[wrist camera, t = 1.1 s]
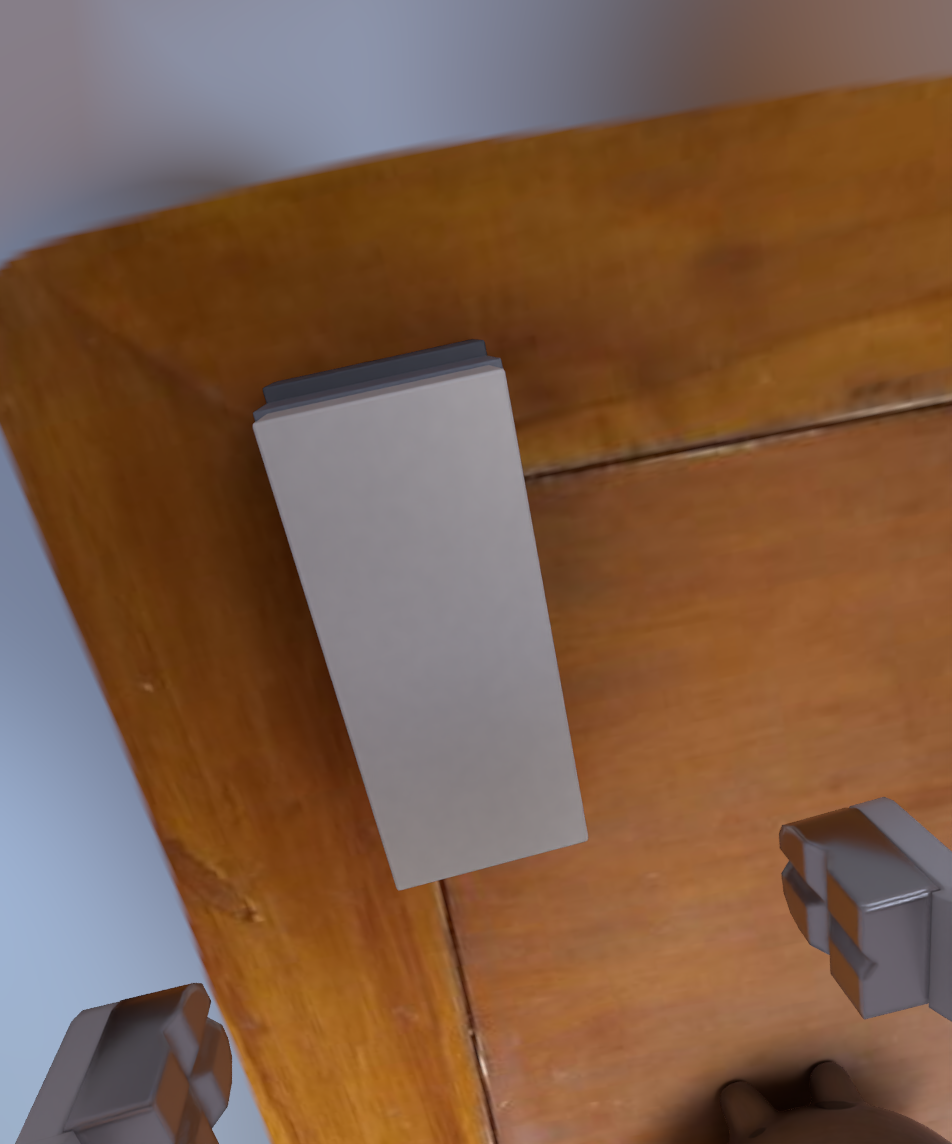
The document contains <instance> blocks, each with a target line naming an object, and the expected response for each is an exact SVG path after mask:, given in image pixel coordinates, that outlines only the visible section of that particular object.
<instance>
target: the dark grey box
mask: <svg viewBox="0 0 952 1144" xmlns="http://www.w3.org/2000/svg"><path fill="white" fill-rule="evenodd" d="M487 365H491V366H495V367H498V368H502V369H503V367H502V361H501V359H500V358H496V357H491V356H487V352H486V347H485V342H484V340H474V339H471V340H466V341H462V342H457V343H453V344H448V345H443V346H439V347H434V348H430V349H425V350H420V351H416V352H411V353H407V354H402V355H397V356H393V357H388V358H383V359H379V360H374V361H370V362H365V363H360V364H356V365H351V366H347V367H342V368H337V369H333V370H328V371H324V372H319V373H314V374H310V375H305V376H300V377H296V378H291V379H287V380H282V381H277V382H274V383H272V384H270V385H268V386H266V387H264V388H263V393H264V396H265V399H266V403H267V404H266V405H264V406H262V407H261V408H259V409H258V410H256V411H255V412H253V416H254V419H255V422H256V421H258V420H259V419H261V418H262V417H263V416H265V415H266V414H268V413H272V412H277V411H282V410H286V409H291V408H295V407H300V406H304V405H309V404H313V403H318V402H323V401H327V400H332V399H336V398H341V397H345V396H350V395H354V394H359V393H364V392H368V391H373V390H377V389H382V388H386V387H391V386H395V385H400V384H405V383H409V382H414V381H418V380H423V379H427V378H432V377H436V376H441V375H446V374H450V373H455V372H459V371H464V370H468V369H473V368H477V367H482V366H487Z"/></svg>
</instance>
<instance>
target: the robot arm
mask: <svg viewBox="0 0 952 1144" xmlns="http://www.w3.org/2000/svg"><path fill="white" fill-rule="evenodd" d="M779 842H780V849H781V850H782V852H783V853H784V854H785V856H786V857H787V858H788V859H789V862H788V864H787V865H786V867H785V868H784V870H783V872H782V873H781V874H782V883H783V892H784V895H785V898H786V901H787V904H788V907H789V910H790V913H791V915H792V917H793V919H794V921H795V922H796V924H797V926H798V928H799V930H800V931H801V933H802V934H803V935H804V937H805V938H806V940H807V941H808V943H809V944H810V945H811V946H813V947H815V948H817V949H819V950H821V951H823V952H825V953H827V954H829V955H830V972H831V975H832V976H833V978H834V979H835V980H836V982H837V983H838V985H839V986H840V987H841V989H842V990H843V991H844V993H845V994H846V996H847V997H848V998H849V1000H850V1001H851V1002H852V1004H853V1005H854V1007H855V1008H856V1009H857V1011H858V1012H859V1013H860V1015H861V1016H862V1018H863V1019H868V1018H872V1017H876V1016H880V1015H884V1014H888V1013H892V1012H896V1011H900V1010H904V1009H908V1008H912V1007H916V1006H920V1005H924V1004H928V1003H929V1008H931V1009H933V1010H934V1011H936V1012H937V1013H939V1014H940V1015H942V1016H944V1017H945V1018H947V1019H948V1020H950V1021H952V852H951V851H950V850H949V849H948V848H947V847H946V846H945V845H944V844H942V843H941V842H940V841H939V840H938V839H937V838H936V837H934V836H933V835H932V834H931V833H930V832H929V831H928V830H926V829H925V828H924V827H923V826H922V825H921V824H920V823H918V822H917V821H916V820H915V819H914V818H913V817H912V816H910V815H909V814H908V813H907V812H906V811H905V810H904V809H902V808H901V807H900V806H899V805H898V804H897V803H896V802H894V801H893V800H891V799H888V798H886V797H882V798H878V799H874V800H871V801H867V802H864V803H860V804H856V805H853V806H850V807H849V808H842V809H839V810H835V811H832V812H828V813H824V814H821V815H817V816H814V817H810V818H806V819H803V820H799V821H796V822H792V823H788V824H785V825H782V827H781V830H780V832H779ZM210 1004H211V1000H210V998H209V996H208V994H207V992H206V990H205V988H204V986H203V984H201V983H191V984H188V985H183V986H179V987H175V988H171V989H167V990H162V991H158V992H154V993H150V994H146V995H141V996H137V997H133V998H129V999H125V1000H121V1001H120V1002H116V1003H112V1004H107V1005H104V1006H99V1007H95V1008H90V1009H86V1010H83V1011H81V1013H80V1014H79V1015H78V1016H77V1017H76V1018H75V1019H74V1020H73V1021H72V1022H71V1024H70V1026H69V1028H68V1030H67V1032H66V1035H65V1037H64V1039H63V1041H62V1043H61V1045H60V1048H59V1050H58V1052H57V1054H56V1056H55V1058H54V1061H53V1063H52V1065H51V1067H50V1069H49V1072H48V1074H47V1076H46V1078H45V1080H44V1082H43V1085H42V1087H41V1089H40V1091H39V1093H38V1095H37V1097H36V1100H35V1102H34V1104H33V1106H32V1108H31V1110H30V1113H29V1115H28V1117H27V1119H26V1121H25V1123H24V1126H23V1128H22V1130H21V1133H20V1134H19V1137H18V1139H17V1141H16V1143H15V1144H219V1143H218V1141H217V1139H216V1137H215V1135H214V1133H213V1131H212V1128H213V1126H214V1125H215V1124H216V1122H217V1121H218V1119H219V1118H220V1117H221V1115H222V1114H223V1112H224V1111H225V1109H226V1108H227V1106H228V1101H229V1096H230V1090H231V1084H232V1055H231V1050H230V1045H229V1040H228V1037H227V1035H226V1033H225V1030H224V1028H223V1026H222V1025H221V1024H219V1023H217V1022H216V1021H214V1020H212V1019H210V1018H208V1017H207V1015H208V1012H209V1008H210Z"/></svg>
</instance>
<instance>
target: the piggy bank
mask: <svg viewBox="0 0 952 1144" xmlns="http://www.w3.org/2000/svg"><path fill="white" fill-rule="evenodd" d="M809 1084H810V1095H811V1103H810V1105H807V1106H802V1107H797V1108H792V1109H788V1110H785V1111H777V1110H775V1109H774V1108H773V1107H772V1106H771V1104H770V1103H769V1102H768V1101H767V1100H766V1099H765V1098H764V1097H763V1096H762V1095H761V1094H760V1093H759V1092H758V1091H757V1090H756V1089H755V1088H754V1087H753V1086H752V1085H750V1084H748V1083H746V1082H743V1081H739V1082H735V1083H733V1084H730V1085H729V1086H727V1087H726V1088H725V1089H724V1090H723V1091H722V1093H721V1095H720V1106H721V1109H722V1112H723V1115H724V1117H725V1120H726V1122H727V1125H728V1129H729V1132H730V1134H729V1141H728V1144H952V1143H951V1142H949V1141H948V1140H946V1139H945V1138H944V1137H942V1136H941V1135H939V1134H938V1133H936V1132H935V1131H933V1130H931V1129H930V1128H928V1127H926V1126H924V1125H923V1124H921V1123H919V1122H917V1121H915V1120H913V1119H911V1118H909V1117H907V1116H904V1115H902V1114H899V1113H897V1112H894V1111H891V1110H888V1109H884V1108H880V1107H876V1106H873V1105H869V1104H867V1103H866V1102H865V1101H864V1100H863V1099H862V1097H861V1096H860V1094H859V1092H858V1091H857V1089H856V1087H855V1086H854V1084H853V1082H852V1080H851V1079H850V1077H849V1075H848V1074H847V1072H846V1071H845V1070H844V1068H843V1067H841V1066H840V1065H838V1064H836V1063H833V1062H826V1063H822V1064H820V1065H818V1066H817V1067H816V1068H815V1069H814V1070H813V1071H812V1073H811V1076H810V1079H809Z"/></svg>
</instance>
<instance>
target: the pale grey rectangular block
mask: <svg viewBox="0 0 952 1144" xmlns="http://www.w3.org/2000/svg"><path fill="white" fill-rule="evenodd" d="M253 430H254V433H255V437H256V440H257V443H258V446H259V449H260V453H261V456H262V459H263V462H264V465H265V469H266V472H267V475H268V478H269V481H270V485H271V488H272V491H273V494H274V497H275V501H276V504H277V507H278V510H279V513H280V517H281V520H282V523H283V526H284V529H285V533H286V536H287V539H288V542H289V545H290V549H291V552H292V555H293V558H294V561H295V565H296V568H297V571H298V574H299V577H300V581H301V584H302V587H303V590H304V593H305V597H306V600H307V603H308V606H309V609H310V613H311V616H312V619H313V622H314V625H315V629H316V632H317V635H318V638H319V641H320V645H321V648H322V651H323V654H324V657H325V661H326V664H327V667H328V670H329V673H330V677H331V680H332V683H333V686H334V689H335V693H336V696H337V699H338V702H339V705H340V709H341V712H342V715H343V718H344V721H345V725H346V728H347V731H348V734H349V737H350V741H351V744H352V747H353V750H354V753H355V757H356V760H357V763H358V766H359V769H360V773H361V776H362V779H363V782H364V785H365V789H366V792H367V795H368V798H369V801H370V805H371V808H372V811H373V814H374V817H375V821H376V824H377V827H378V830H379V833H380V837H381V840H382V843H383V846H384V849H385V853H386V856H387V859H388V862H389V865H390V869H391V872H392V875H393V878H394V881H395V885H396V888H397V889H398V890H404V889H408V888H411V887H415V886H419V885H423V884H427V883H430V882H434V881H438V880H442V879H445V878H449V877H453V876H457V875H461V874H464V873H468V872H472V871H476V870H479V869H483V868H487V867H491V866H495V865H498V864H502V863H506V862H510V861H514V860H517V859H521V858H525V857H529V856H532V855H536V854H540V853H544V852H548V851H551V850H555V849H559V848H563V847H567V846H570V845H574V844H578V843H582V842H585V841H587V840H588V833H587V827H586V821H585V816H584V810H583V805H582V799H581V793H580V788H579V782H578V777H577V771H576V766H575V760H574V754H573V749H572V743H571V738H570V732H569V726H568V721H567V715H566V710H565V704H564V698H563V693H562V687H561V682H560V676H559V671H558V665H557V659H556V654H555V648H554V643H553V637H552V631H551V626H550V620H549V615H548V609H547V604H546V598H545V592H544V587H543V581H542V576H541V570H540V564H539V559H538V553H537V548H536V542H535V536H534V531H533V525H532V520H531V514H530V509H529V503H528V497H527V492H526V486H525V481H524V475H523V469H522V464H521V458H520V453H519V447H518V441H517V436H516V430H515V425H514V419H513V414H512V408H511V402H510V397H509V391H508V386H507V380H506V374H505V371H504V369H502V368H498V367H495V366H491V365H487V366H482V367H477V368H473V369H468V370H464V371H459V372H455V373H450V374H446V375H441V376H436V377H432V378H427V379H423V380H418V381H414V382H409V383H405V384H400V385H395V386H391V387H386V388H382V389H377V390H373V391H368V392H364V393H359V394H354V395H350V396H345V397H341V398H336V399H332V400H327V401H323V402H318V403H313V404H309V405H304V406H300V407H295V408H291V409H286V410H282V411H277V412H272V413H268V414H266V415H265V416H263V417H262V418H261V419H259V420H258V421H256V422H255V423H254V424H253Z"/></svg>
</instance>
